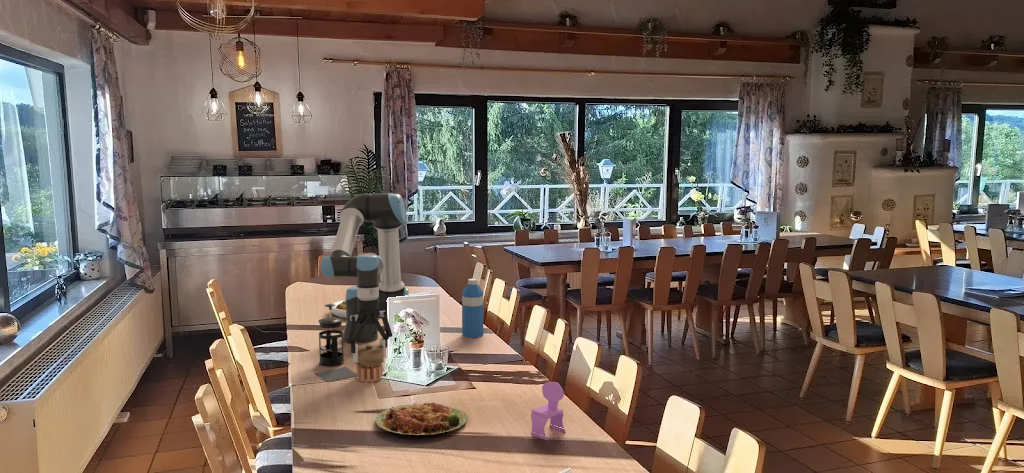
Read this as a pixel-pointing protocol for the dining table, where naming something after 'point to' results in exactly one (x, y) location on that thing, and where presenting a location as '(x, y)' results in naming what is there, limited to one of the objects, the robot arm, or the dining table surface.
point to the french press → (331, 341)
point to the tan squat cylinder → (370, 355)
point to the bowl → (340, 309)
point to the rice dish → (421, 419)
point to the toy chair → (548, 410)
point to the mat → (336, 374)
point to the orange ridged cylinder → (369, 373)
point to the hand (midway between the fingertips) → (369, 359)
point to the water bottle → (472, 310)
